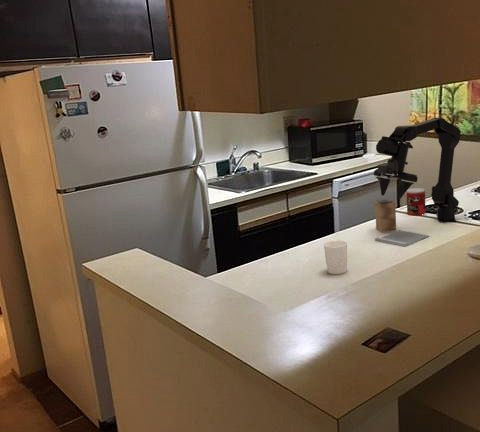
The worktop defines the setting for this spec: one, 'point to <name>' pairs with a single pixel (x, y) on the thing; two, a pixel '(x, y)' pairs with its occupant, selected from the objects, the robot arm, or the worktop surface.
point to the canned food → (416, 201)
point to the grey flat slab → (401, 238)
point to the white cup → (336, 256)
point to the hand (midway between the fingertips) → (390, 197)
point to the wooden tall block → (385, 215)
